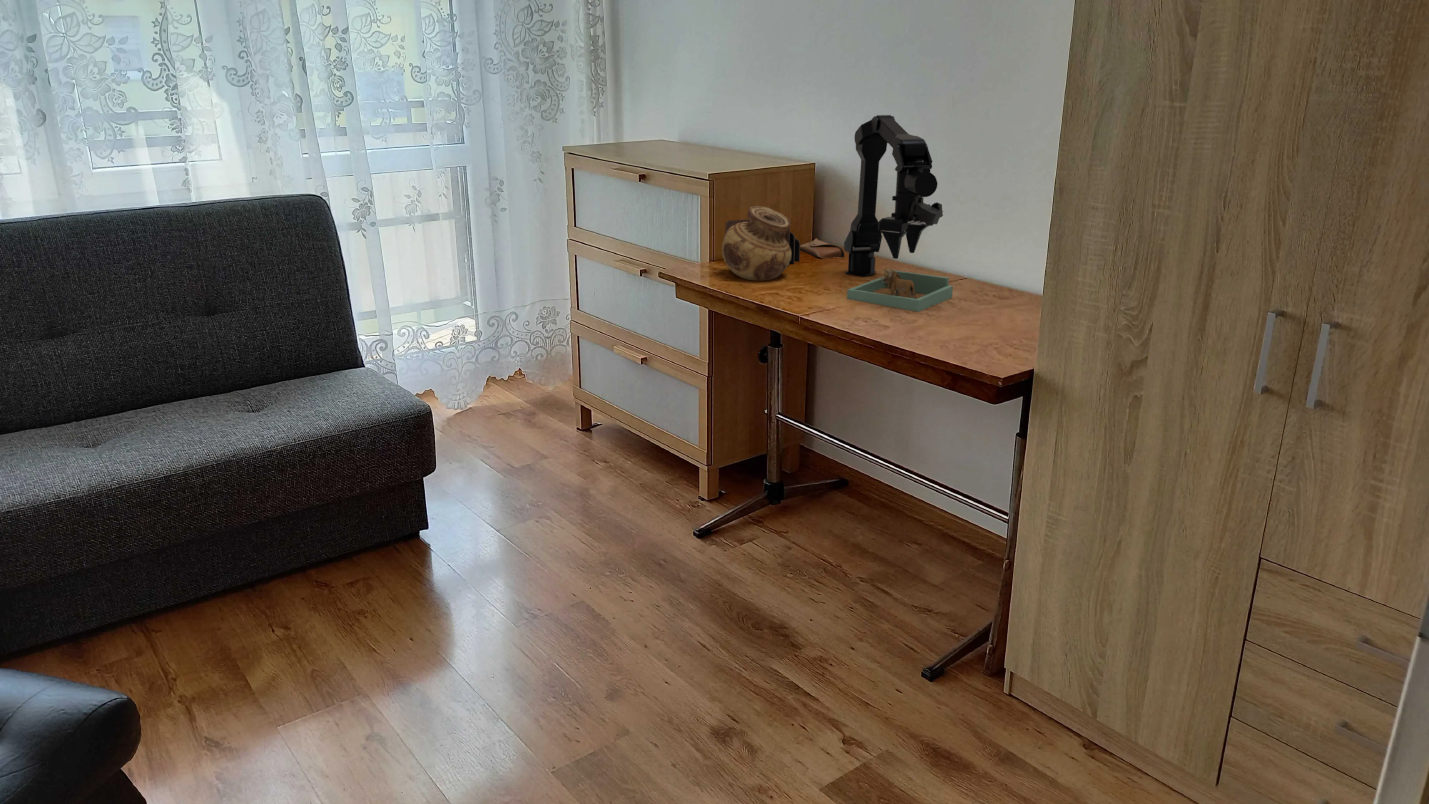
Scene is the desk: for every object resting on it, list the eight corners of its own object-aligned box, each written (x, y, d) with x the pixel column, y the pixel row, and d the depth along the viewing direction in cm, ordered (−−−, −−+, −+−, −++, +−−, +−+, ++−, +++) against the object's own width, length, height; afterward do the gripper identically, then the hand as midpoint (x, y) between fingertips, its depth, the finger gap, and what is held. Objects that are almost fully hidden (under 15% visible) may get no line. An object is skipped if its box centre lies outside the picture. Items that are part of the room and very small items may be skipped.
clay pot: (769, 291, 263) (770, 214, 256) (708, 283, 272) (708, 208, 265) (802, 278, 278) (804, 204, 271) (744, 270, 287) (744, 199, 281)
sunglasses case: (791, 247, 313) (804, 229, 313) (807, 260, 316) (819, 242, 316) (819, 257, 297) (833, 239, 297) (835, 271, 301) (848, 253, 301)
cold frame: (846, 301, 252) (847, 281, 250) (883, 287, 267) (884, 268, 265) (918, 312, 241) (919, 292, 240) (951, 297, 256) (953, 278, 254)
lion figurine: (876, 297, 257) (878, 268, 254) (887, 294, 259) (889, 266, 257) (915, 305, 248) (917, 276, 246) (926, 302, 251) (928, 273, 249)
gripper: (922, 198, 234) (917, 265, 239) (954, 190, 248) (949, 253, 253) (878, 195, 240) (875, 260, 245) (912, 187, 254) (908, 248, 259)
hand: (903, 255), depth 251 cm, fingers open, 9 cm apart
